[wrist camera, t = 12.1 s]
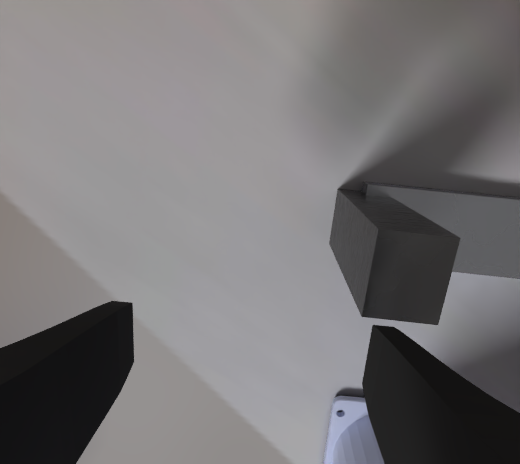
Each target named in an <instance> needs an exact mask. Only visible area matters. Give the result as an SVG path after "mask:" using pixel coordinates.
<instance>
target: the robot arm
mask: <svg viewBox="0 0 520 464" xmlns="http://www.w3.org/2000/svg"><path fill="white" fill-rule="evenodd" d="M133 362H134V344H133V307H132V303H128V302H117V301H111V302H108V303H105V304H103V305H101V306H98V307H96V308H93V309H91V310H89V311H87V312H84V313H82V314H80V315H78V316H76V317H74V318H71V319H69V320H67V321H65V322H62V323H60V324H58V325H56V326H54V327H51V328H49V329H47V330H44V331H42V332H40V333H37V334H35V335H32V336H30V337H27V338H25V339H23V340H20V341H18V342H15V343H13V344H10V345H8V346H5V347H2V348H0V464H76V462H77V461H78V459H79V458H80V456H81V455H82V453H83V451H84V450H85V448H86V447H87V445H88V443H89V442H90V440H91V439H92V437H93V435H94V434H95V432H96V431H97V429H98V427H99V426H100V424H101V423H102V421H103V419H104V418H105V416H106V415H107V413H108V411H109V410H110V408H111V406H112V405H113V403H114V401H115V400H116V398H117V397H118V395H119V393H120V392H121V389H122V387H123V385H124V383H125V381H126V379H127V376H128V374H129V372H130V370H131V367H132V365H133ZM362 385H363V391H364V396H365V398H360V397H350V396H337V397H335V398H334V399H333V402H332V409H331V415H330V421H329V428H328V434H327V441H326V447H325V454H324V460H323V464H520V413H518V412H517V411H515V410H513V409H511V408H510V407H508V406H506V405H505V404H503V403H501V402H500V401H498V400H496V399H495V398H493V397H492V396H490V395H488V394H487V393H485V392H484V391H482V390H481V389H479V388H478V387H476V386H475V385H473V384H472V383H470V382H469V381H467V380H466V379H464V378H463V377H462V376H460V375H459V374H457V373H456V372H455V371H453V370H452V369H450V368H449V367H448V366H446V365H445V364H444V363H442V362H441V361H439V360H438V359H437V358H435V357H434V356H433V355H432V354H430V353H429V352H428V351H426V350H425V349H424V348H422V347H421V346H420V345H418V344H417V343H416V342H414V341H413V340H412V339H410V338H409V337H408V336H406V335H405V334H404V333H402V332H401V331H399V330H398V329H396V328H395V327H389V326H378V325H373V327H372V332H371V338H370V343H369V349H368V354H367V360H366V365H365V371H364V377H363V382H362ZM338 410H343V411H342V412H337V411H338Z"/></svg>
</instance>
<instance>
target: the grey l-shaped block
mask: <svg viewBox="0 0 520 464" xmlns="http://www.w3.org/2000/svg"><path fill="white" fill-rule="evenodd" d="M329 244H330V246H331V249H332V251H333V253H334V255H335V258H336V260H337V262H338V264H339V267H340V269H341V271H342V273H343V276H344V278H345V280H346V282H347V285H348V287H349V289H350V291H351V294H352V296H353V298H354V301H355V303H356V305H357V307H358V310H359V312H360V314H361V316H362V317H370V318H379V319H388V320H397V321H406V322H415V323H424V324H433V325H438V323H439V319H440V315H441V312H442V308H443V304H444V300H445V296H446V292H447V288H448V285H449V281H450V277H451V273H452V272H461V273H470V274H479V275H489V276H498V277H507V278H517V279H520V198H517V197H507V196H498V195H488V194H478V193H468V192H458V191H449V190H439V189H429V188H419V187H409V186H400V185H390V184H380V183H370V182H363V188H362V191H353V190H344V189H338V191H337V197H336V204H335V210H334V217H333V223H332V229H331V236H330V242H329Z"/></svg>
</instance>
